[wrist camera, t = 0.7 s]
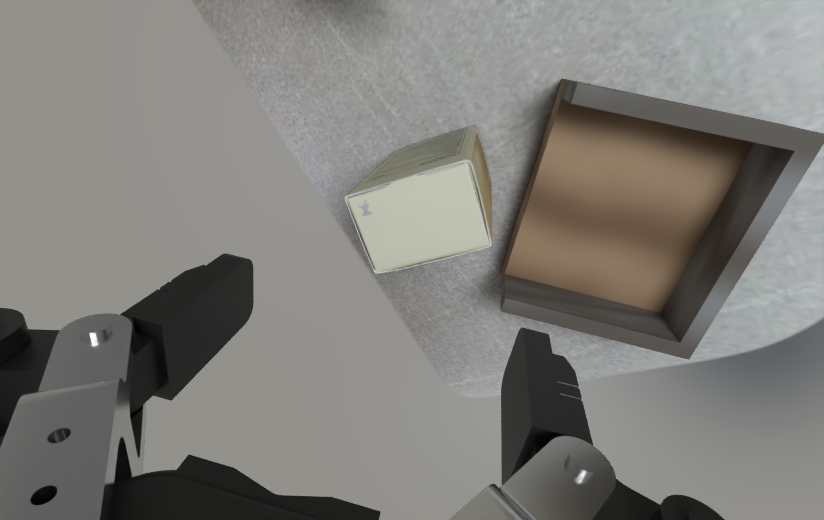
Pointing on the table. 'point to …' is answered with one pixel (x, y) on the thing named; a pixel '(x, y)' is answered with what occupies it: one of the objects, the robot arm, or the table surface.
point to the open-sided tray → (646, 214)
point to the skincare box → (425, 203)
